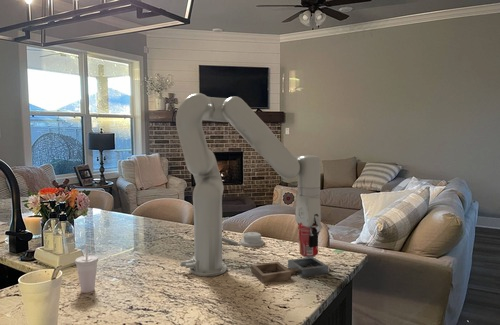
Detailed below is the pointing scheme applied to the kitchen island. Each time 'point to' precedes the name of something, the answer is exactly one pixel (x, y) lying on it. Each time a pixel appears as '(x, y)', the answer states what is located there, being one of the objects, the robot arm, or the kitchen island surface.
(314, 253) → the soda can
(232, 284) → the kitchen island surface
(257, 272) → the stand socket
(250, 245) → the mechanical component
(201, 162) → the robot arm
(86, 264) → the smoothie
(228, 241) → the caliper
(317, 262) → the socket
